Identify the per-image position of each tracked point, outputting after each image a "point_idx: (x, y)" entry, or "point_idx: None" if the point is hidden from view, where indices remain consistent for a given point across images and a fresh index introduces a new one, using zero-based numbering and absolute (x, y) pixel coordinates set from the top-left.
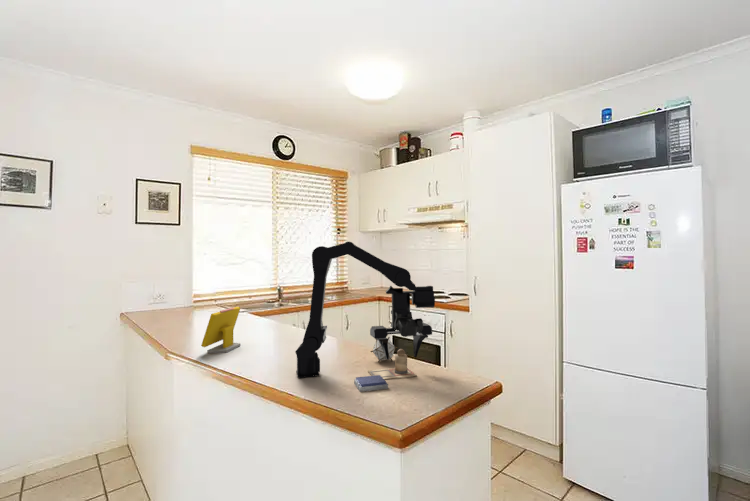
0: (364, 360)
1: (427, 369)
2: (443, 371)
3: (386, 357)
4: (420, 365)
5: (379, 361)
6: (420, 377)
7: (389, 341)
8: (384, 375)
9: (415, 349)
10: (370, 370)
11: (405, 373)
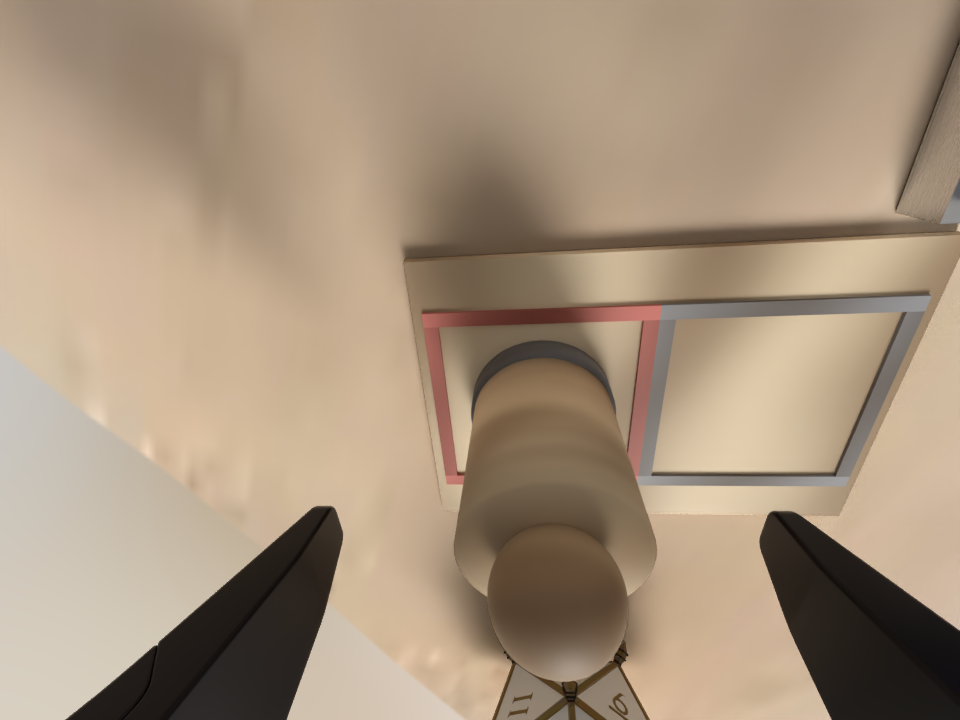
0: (696, 696)
1: (260, 428)
2: (104, 340)
3: (820, 546)
4: None
5: (615, 653)
6: (371, 213)
7: None
8: (766, 350)
9: (273, 619)
10: (809, 514)
11: (513, 347)
